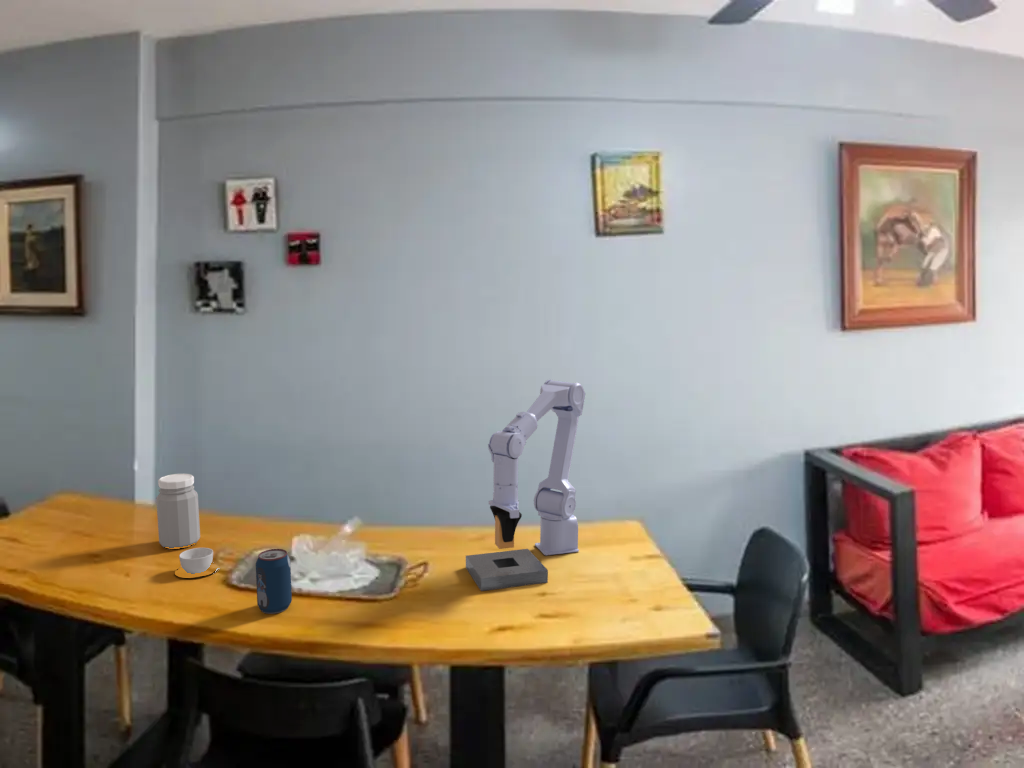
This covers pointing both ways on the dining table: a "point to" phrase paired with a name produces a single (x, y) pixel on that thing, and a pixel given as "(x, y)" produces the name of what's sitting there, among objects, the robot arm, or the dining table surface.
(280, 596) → the soda can
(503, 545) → the peach rectangular block
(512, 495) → the robot arm
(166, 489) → the jar
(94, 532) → the dining table surface
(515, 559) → the gray block with hole
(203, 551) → the teacup
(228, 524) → the dining table surface
